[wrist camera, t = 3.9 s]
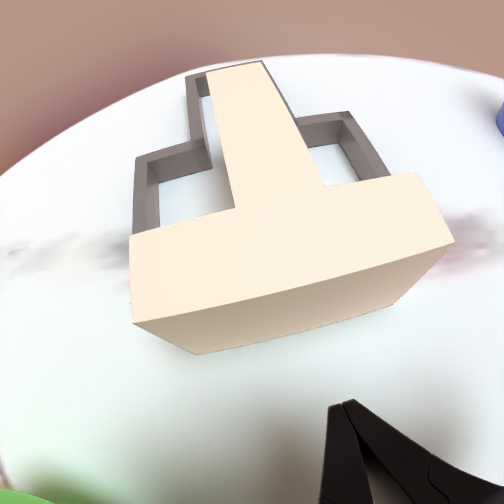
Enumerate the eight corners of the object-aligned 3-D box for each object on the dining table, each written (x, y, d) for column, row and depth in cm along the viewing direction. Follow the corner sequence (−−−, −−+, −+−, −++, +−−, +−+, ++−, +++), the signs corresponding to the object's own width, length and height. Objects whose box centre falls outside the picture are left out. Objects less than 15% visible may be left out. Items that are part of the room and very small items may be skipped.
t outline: (390, 213, 19) (400, 191, 17) (148, 270, 19) (132, 254, 17) (303, 73, 28) (303, 54, 26) (150, 107, 28) (143, 89, 26)
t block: (392, 304, 16) (455, 241, 9) (196, 355, 16) (132, 323, 9) (318, 138, 23) (323, 54, 16) (175, 170, 23) (141, 91, 16)
